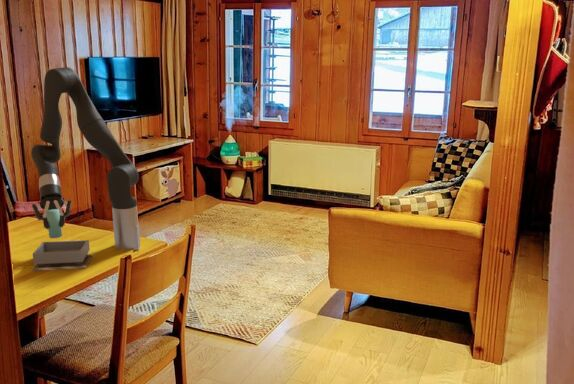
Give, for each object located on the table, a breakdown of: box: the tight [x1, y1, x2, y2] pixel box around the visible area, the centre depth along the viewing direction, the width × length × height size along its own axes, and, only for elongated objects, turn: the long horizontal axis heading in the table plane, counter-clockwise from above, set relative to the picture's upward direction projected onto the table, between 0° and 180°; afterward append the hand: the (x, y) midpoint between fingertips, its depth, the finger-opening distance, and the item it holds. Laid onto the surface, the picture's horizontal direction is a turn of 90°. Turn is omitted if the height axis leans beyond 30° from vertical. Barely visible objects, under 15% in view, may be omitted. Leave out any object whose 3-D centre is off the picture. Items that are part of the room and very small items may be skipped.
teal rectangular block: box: [46, 209, 63, 239], centre depth 194 cm, size 4×4×10 cm
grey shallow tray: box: [32, 239, 91, 268], centre depth 186 cm, size 16×12×6 cm
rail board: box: [31, 253, 94, 272], centre depth 187 cm, size 18×12×2 cm, turn 99°
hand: (54, 227), depth 193 cm, fingers closed on teal rectangular block, 4 cm apart
